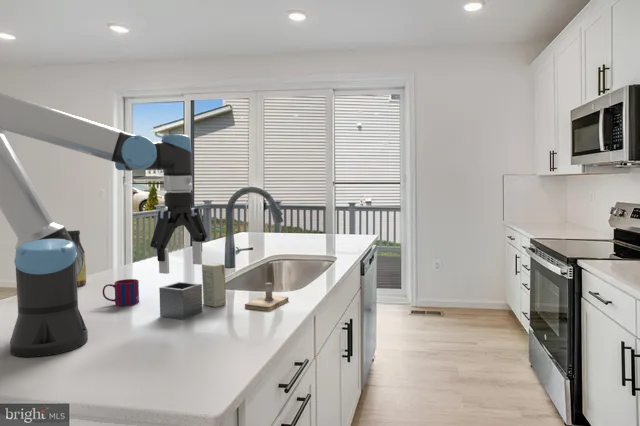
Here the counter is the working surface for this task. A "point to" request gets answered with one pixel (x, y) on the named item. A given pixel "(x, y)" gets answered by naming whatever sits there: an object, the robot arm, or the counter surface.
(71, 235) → the sauce bottle
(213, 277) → the skincare box
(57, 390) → the counter surface
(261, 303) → the block
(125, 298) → the mug
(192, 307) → the hollow grey cube box
